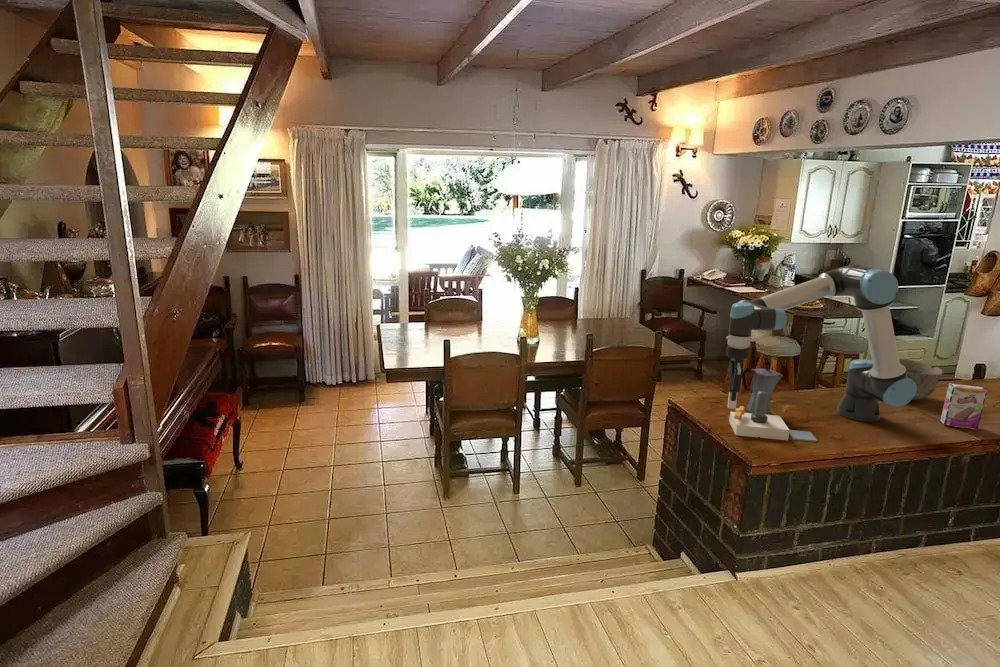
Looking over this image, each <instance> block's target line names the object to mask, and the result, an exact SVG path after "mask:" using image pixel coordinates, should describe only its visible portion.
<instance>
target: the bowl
mask: <svg viewBox="0 0 1000 667" xmlns="http://www.w3.org/2000/svg"><path fill="white" fill-rule="evenodd" d="M899 361H900V364H901V365H903V366H905V368H906V372H907V377H908V378H909V379H912V380H913V381H914V382H915V383H916V386H917V391H916V394H915V396H914V397H913V398H912V400H911V401H913V400H914V401H916V400H923V399H925V398H927V397H929V396H931V395H932V394H933V393H934V392H935V390H936V387H937V384H938V383H940V381H939V380H940V378H941V377H942V375H943V373H944V372H943V369H941V368H940V367H938V366H935V367H932V366H931V365H930V364H927V363H924V362H921V361H918V360H913V359H907V358H899Z"/></svg>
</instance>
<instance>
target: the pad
mask: <svg viewBox="0 0 1000 667" xmlns="http://www.w3.org/2000/svg"><path fill="white" fill-rule="evenodd" d="M789 430H790V431H789V436H790V437H791V439H792V440H794V441H803V442H810V443H811V442H813V443H814V442H815V443H817V442H818V440H817V438H816V436H814V434H813V433H812V432H811V431H806V430H805V431H804V430H797V429H796V430H795V429H794V430H793V429H789Z"/></svg>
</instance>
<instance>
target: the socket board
mask: <svg viewBox="0 0 1000 667" xmlns="http://www.w3.org/2000/svg"><path fill="white" fill-rule="evenodd" d="M735 414H736V413H735V411H730V412H729V419H728V422H729V424H730V426H731V429H732V431H733V432H734V435H735V436H739V437H749V438H750V437H751V438H758V437H760V439H770V440H780V441H781V440H782V441H789V438H790V437H789V436H790V434H789V431H790V430H791V429H790V428H789V427H788V426H787V424H786V423H785V421H784V420H783V418H782V417H781V416H780V415H775V414H774V415H773V414H769V415H766V416H767V417H768V418H767V422H765V423H758V422H753V420H751V414H753V413H750V412H745V413H744V415H741V416H740V418H739V420H738V419H734V416H735Z"/></svg>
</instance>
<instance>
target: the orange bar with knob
mask: <svg viewBox="0 0 1000 667" xmlns="http://www.w3.org/2000/svg"><path fill="white" fill-rule="evenodd" d="M745 408H746V406H743V405H740V406H739V407H736V409H735V411H734V412H735V413H736V414H735V416H734V419H738V420H739V418H740V416H741V415H744V413H746V410H745Z"/></svg>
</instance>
